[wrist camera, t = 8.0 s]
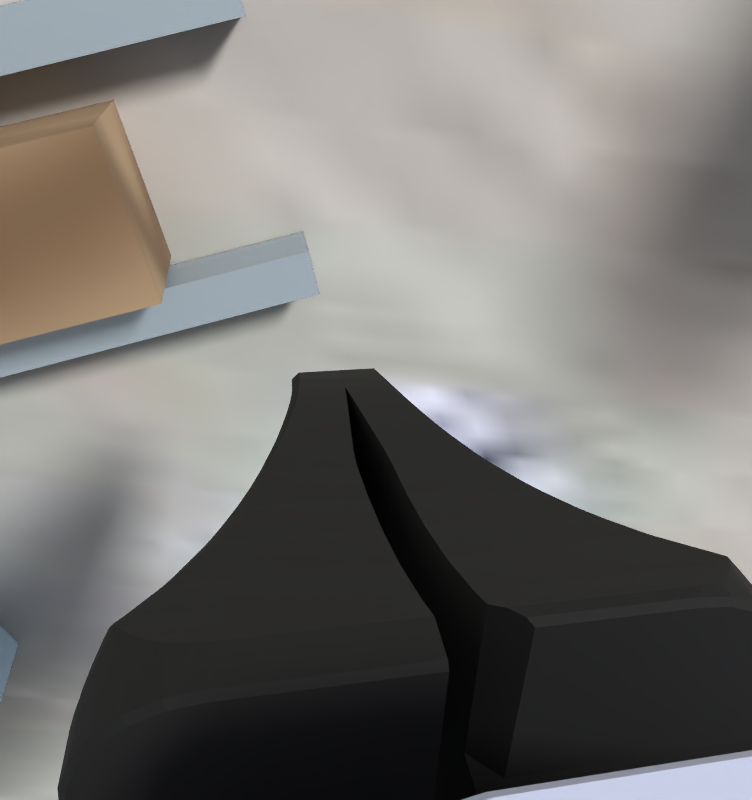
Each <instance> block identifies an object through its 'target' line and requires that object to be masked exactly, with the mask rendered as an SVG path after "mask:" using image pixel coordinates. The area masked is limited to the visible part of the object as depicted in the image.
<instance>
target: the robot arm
mask: <svg viewBox="0 0 752 800" xmlns="http://www.w3.org/2000/svg"><path fill="white" fill-rule="evenodd" d="M58 797H59V800H752V584H751V583H750V582H749V581H748V580H747V579H746V577H745V576H744V575H743V574H742V573H741V571H740V570H739V569H738V568H737V567H736V566H735V565H734V564H733V562H732V561H731V560H730V559H729V558H728V557H727V556H724V555H720V554H716V553H713V552H709V551H706V550H702V549H698V548H695V547H691V546H688V545H684V544H681V543H677V542H673V541H670V540H666V539H663V538H659V537H655V536H652V535H649V534H646V533H643V532H640V531H637V530H634V529H632V528H629V527H626V526H623V525H620V524H618V523H615V522H612V521H609V520H606V519H604V518H601V517H599V516H596V515H594V514H591V513H589V512H586V511H584V510H581V509H579V508H577V507H574V506H572V505H570V504H568V503H566V502H564V501H562V500H559V499H557V498H555V497H553V496H551V495H549V494H546V493H544V492H542V491H540V490H538V489H536V488H534V487H532V486H530V485H528V484H527V483H525V482H523V481H521V480H519V479H517V478H516V477H514V476H512V475H511V474H509V473H507V472H505V471H504V470H502V469H500V468H499V467H497V466H495V465H493V464H492V463H490V462H489V461H487V460H485V459H484V458H482V457H481V456H479V455H478V454H476V453H475V452H473V451H472V450H471V449H469V448H468V447H466V446H465V445H464V444H462V443H461V442H459V441H458V440H457V439H455V438H454V437H452V436H451V435H450V434H448V433H447V432H446V431H445V430H443V429H442V428H441V427H439V426H438V425H437V424H436V423H434V422H433V421H432V420H431V419H430V418H428V417H427V416H426V415H425V414H424V413H422V412H421V411H420V410H419V409H418V408H417V407H415V406H414V405H413V404H412V403H411V402H410V401H409V400H408V399H406V398H405V397H404V396H403V395H402V394H401V393H400V392H399V391H398V390H397V389H395V388H394V387H393V386H392V385H391V384H390V383H389V382H388V381H387V380H386V379H385V378H384V377H383V376H382V375H380V374H379V373H378V372H377V371H376V370H375V369H356V370H338V371H321V372H303V373H298V374H297V375H296V376H295V377H294V378H293V379H292V396H291V400H290V404H289V408H288V411H287V414H286V417H285V419H284V422H283V425H282V427H281V430H280V432H279V435H278V437H277V440H276V442H275V444H274V446H273V448H272V450H271V452H270V454H269V456H268V458H267V460H266V462H265V464H264V466H263V467H262V469H261V471H260V473H259V474H258V476H257V478H256V480H255V481H254V483H253V484H252V486H251V488H250V489H249V491H248V492H247V494H246V495H245V496H244V498H243V499H242V501H241V502H240V504H239V505H238V506H237V508H236V509H235V510H234V512H233V513H232V514H231V515H230V517H229V518H228V519H227V521H226V522H225V523H224V524H223V526H222V527H221V528H220V529H219V531H218V532H217V533H216V534H215V535H214V536H213V538H212V539H211V540H210V541H209V542H208V543H207V544H206V545H205V546H204V547H203V548H202V549H201V550H200V551H199V552H198V553H197V554H196V555H195V556H194V557H193V558H192V559H191V560H190V561H189V562H188V563H187V564H186V565H185V566H184V567H183V568H182V569H181V570H180V571H179V572H178V573H177V574H176V575H175V576H174V577H173V578H172V579H171V580H170V581H169V582H168V583H166V584H165V585H164V586H163V587H162V588H160V589H159V590H158V591H157V592H155V593H154V594H153V595H151V596H150V597H149V598H147V599H146V600H145V601H143V602H142V603H141V604H140V605H138V606H137V607H136V608H134V609H133V610H132V611H130V612H129V613H128V614H126V615H125V616H124V617H122V618H121V619H119V620H118V621H117V622H115V623H114V624H113V625H112V626H110V628H109V629H108V632H107V634H106V636H105V638H104V640H103V642H102V644H101V646H100V649H99V651H98V653H97V655H96V657H95V660H94V662H93V664H92V667H91V669H90V672H89V674H88V677H87V679H86V682H85V684H84V687H83V690H82V693H81V696H80V699H79V702H78V704H77V707H76V710H75V713H74V716H73V720H72V723H71V727H70V731H69V736H68V740H67V745H66V750H65V755H64V760H63V765H62V770H61V774H60V779H59V784H58Z"/></svg>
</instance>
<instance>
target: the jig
mask: <svg viewBox="0 0 752 800" xmlns="http://www.w3.org/2000/svg"><path fill="white" fill-rule="evenodd" d="M244 16H246V14H245V11H244V7H243V3H242V0H23V1H19V2H15V3H11V4H7V5H3V6H0V76H3V75H7V74H11V73H15V72H20V71H24V70H28V69H32V68H36V67H40V66H44V65H48V64H52V63H56V62H60V61H64V60H68V59H73V58H77V57H81V56H85V55H89V54H93V53H97V52H101V51H105V50H109V49H113V48H117V47H122V46H126V45H130V44H134V43H138V42H142V41H146V40H150V39H154V38H158V37H162V36H166V35H171V34H175V33H179V32H183V31H187V30H191V29H195V28H199V27H203V26H207V25H211V24H215V23H220V22H224V21H228V20H232V19H236V18H240V17H244ZM318 294H320V292H319V288H318V284H317V281H316V277H315V273H314V269H313V266H312V262H311V258H310V254H309V251H308V247H307V243H306V240H305V236H304V233H303V232H299V233H295V234H291V235H287V236H284V237H280V238H276V239H272V240H268V241H264V242H260V243H256V244H253V245H249V246H245V247H241V248H237V249H233V250H229V251H225V252H222V253H218V254H214V255H210V256H206V257H202V258H198V259H194V260H191V261H187V262H183V263H179V264H175V265H171V266H169V268H168V273H167V279H166V284H165V289H164V294H163V300H162V304H159V305H155V306H151V307H147V308H143V309H139V310H135V311H131V312H128V313H124V314H120V315H116V316H112V317H108V318H104V319H100V320H96V321H92V322H88V323H84V324H80V325H76V326H72V327H68V328H64V329H60V330H56V331H52V332H48V333H44V334H40V335H36V336H32V337H28V338H25V339H21V340H17V341H13V342H9V343H5V344H1V345H0V378H1V377H5V376H9V375H12V374H16V373H20V372H24V371H28V370H31V369H35V368H39V367H43V366H47V365H51V364H54V363H58V362H62V361H66V360H70V359H74V358H77V357H81V356H85V355H89V354H93V353H96V352H100V351H104V350H108V349H112V348H116V347H119V346H123V345H127V344H131V343H135V342H138V341H142V340H146V339H150V338H154V337H158V336H161V335H165V334H169V333H173V332H177V331H180V330H184V329H188V328H192V327H196V326H200V325H203V324H207V323H211V322H215V321H219V320H222V319H226V318H230V317H234V316H238V315H242V314H245V313H249V312H253V311H257V310H261V309H265V308H268V307H272V306H276V305H280V304H284V303H287V302H291V301H295V300H299V299H303V298H307V297H310V296H314V295H318Z"/></svg>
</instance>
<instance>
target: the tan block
mask: <svg viewBox="0 0 752 800" xmlns="http://www.w3.org/2000/svg"><path fill="white" fill-rule="evenodd" d="M170 258H171V254H170V251H169V249H168V246H167V243H166V240H165V238H164V235H163V232H162V230H161V227H160V224H159V222H158V219H157V216H156V213H155V211H154V208H153V205H152V203H151V200H150V197H149V195H148V192H147V189H146V186H145V184H144V181H143V178H142V176H141V173H140V170H139V168H138V165H137V162H136V159H135V157H134V154H133V151H132V149H131V146H130V143H129V141H128V138H127V135H126V132H125V130H124V127H123V124H122V122H121V119H120V116H119V114H118V111H117V108H116V105H115V103H114V100H111V101H107V102H103V103H98V104H94V105H90V106H86V107H82V108H77V109H73V110H69V111H65V112H61V113H57V114H52V115H48V116H44V117H40V118H36V119H31V120H27V121H23V122H19V123H15V124H11V125H6V126H2V127H0V345H1V344H5V343H9V342H13V341H17V340H21V339H25V338H28V337H32V336H36V335H40V334H44V333H48V332H52V331H56V330H60V329H64V328H68V327H72V326H76V325H80V324H84V323H88V322H92V321H96V320H100V319H104V318H108V317H112V316H116V315H120V314H124V313H128V312H131V311H135V310H139V309H143V308H147V307H151V306H155V305H159V304H162V300H163V294H164V289H165V284H166V279H167V273H168V268H169V263H170Z"/></svg>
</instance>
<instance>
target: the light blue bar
mask: <svg viewBox="0 0 752 800" xmlns="http://www.w3.org/2000/svg"><path fill="white" fill-rule="evenodd" d="M17 648H18V643H17V642H16V641H15V640H14V639H13V638H12V637H11V636H10V635H9V634H8V633H7V632H6V631H5V630H4V629H3V628H2V627H1V626H0V704H1V700H2V697H3V694H4V690H5V687H6V684H7V680H8V677H9V674H10V671H11V667H12V664H13V661H14V657H15V654H16V651H17Z"/></svg>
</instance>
